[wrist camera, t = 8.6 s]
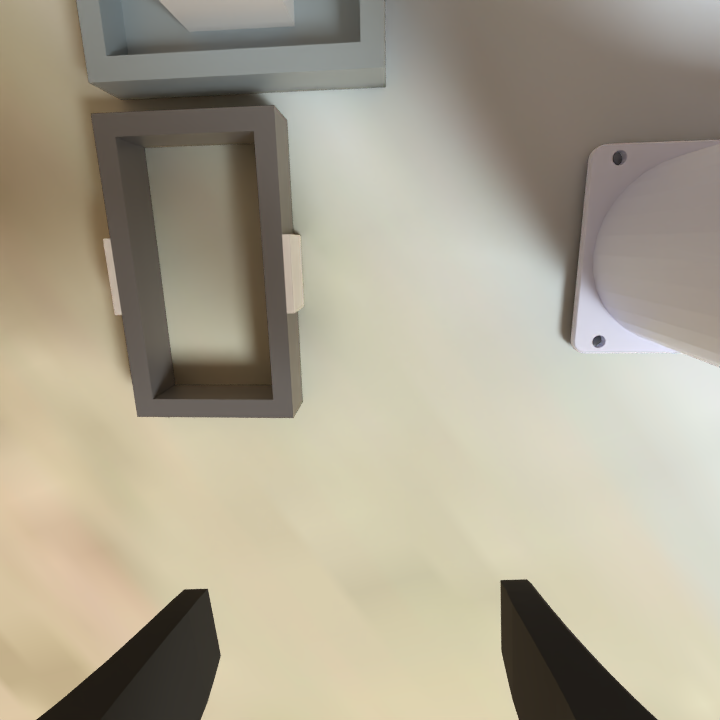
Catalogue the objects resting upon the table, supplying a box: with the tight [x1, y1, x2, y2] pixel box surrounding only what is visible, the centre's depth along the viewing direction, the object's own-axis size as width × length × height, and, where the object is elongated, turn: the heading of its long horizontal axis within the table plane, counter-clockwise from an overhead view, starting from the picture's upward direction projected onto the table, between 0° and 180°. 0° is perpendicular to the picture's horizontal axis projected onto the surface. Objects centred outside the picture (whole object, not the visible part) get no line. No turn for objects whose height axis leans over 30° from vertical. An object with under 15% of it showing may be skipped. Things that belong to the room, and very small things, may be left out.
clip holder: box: [91, 105, 304, 418], centre depth 19 cm, size 7×12×2 cm, turn 1°
